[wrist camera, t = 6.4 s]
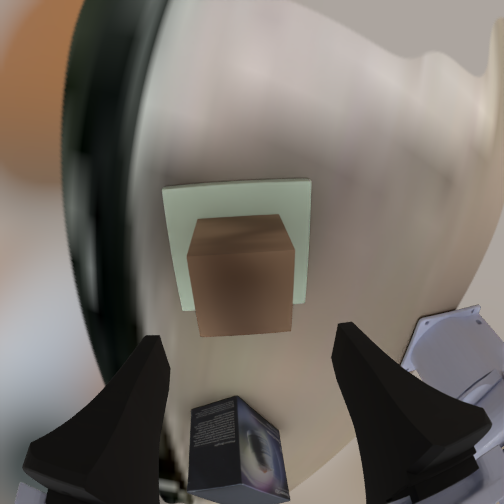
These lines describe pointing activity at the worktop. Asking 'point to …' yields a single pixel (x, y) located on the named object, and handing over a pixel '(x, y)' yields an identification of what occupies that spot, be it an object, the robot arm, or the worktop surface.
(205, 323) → the walnut cube
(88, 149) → the worktop surface
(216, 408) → the small box
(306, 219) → the plate
